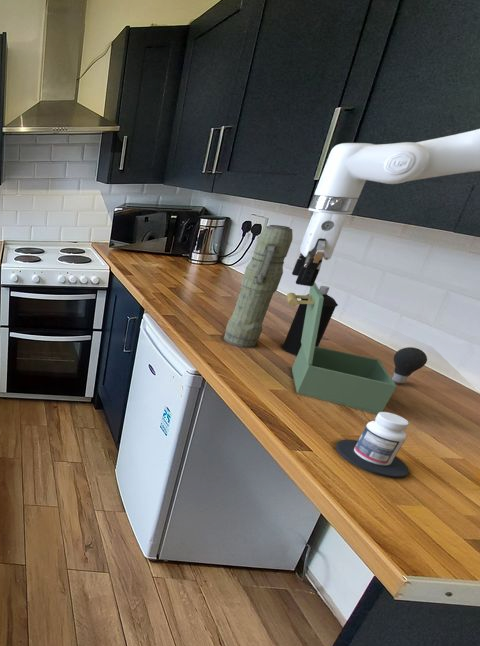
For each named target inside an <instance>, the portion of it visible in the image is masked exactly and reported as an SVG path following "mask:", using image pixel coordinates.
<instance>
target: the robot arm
mask: <svg viewBox="0 0 480 646" xmlns="http://www.w3.org/2000/svg"><path fill="white" fill-rule="evenodd" d="M473 172H480V128H476V129H473V130H470V131H469V130H468V131H464V132H460V133H456V134H451V135H446V136H442V137H437V138H432V139H426V140H421V141H417V142H412V141H406V142H405V141H403V142H395V143H383V144H382V143H381V144H375V143H368V142H367V143H366V142H342V143H339V144H336V145H334V146H333V147H332V148H331V150H330V152H329V154H328V157H327V159H326V162H325V165H324V168H323V169H322V172H321V175H320V178H319V181H318V183H317V186H316V189H315V191H314V194H313V196H312V199H311V202H310V204H309V206H308V211H311V212H313V213H312V215H311V218H310V220H309V223H308V226H307V228H306V231H305V233H304V235H303V238H302V241H301V244H300V248H299V251H300V254H299V256H298V258H297V260H296V262H295V265H294V267H293V270H292V272H291V274H292V276H296V277H297V278H296V280H295V284H296V285H299V286H306V287H310V286H313V285H314V282H315V283H316V280H317V277H318V275H319V273H320V270H321V267H322V263H323V259H324V260H325V261H328V260H330V259H331V258H332V256H333V254H334V251H335V248H336V245H337V243H338V240H339V238H340V235H341V232H342V229H343V226H344V224H345V220H346V217H347V215H352V214H353V212H354V209H355V207H356V204H357V203H358V200H359V198H360V196H361V194H362V191H363V188H364V186H365V184H366V182H367V181H370V182H375V183H381V184H386V185H387V184H388V185H397V184H402V183H406V182H413V181H418V180H424V179H431V178H437V177H443V176H451V175H456V174H463V173H464V174H465V173H473Z"/></svg>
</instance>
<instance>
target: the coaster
mask: <svg viewBox="0 0 480 646" xmlns="http://www.w3.org/2000/svg"><path fill="white" fill-rule="evenodd" d="M357 442H358V440H356V439H355V440H354V439H342V440H339V441H338V442H337V443H336V445H335V449H336V451H337V453H338V454H339V455H340V456H341V457H342V458H343V459H344V460H345V461H347V462H348V463H350V464H351V465H353V466H355V467H357V468H359V469H361V470H363V471H364V472H365V471H366V472H368V473H370V474H373V475H376V476H379V477H383V478H388V479H404V478H406V477H407V476H408V474H409V467H408V466H407V464H405V462H403V461H402V460H401V459H400V458H399V457H397V455H396V456H395V458H394V460H393V461H392V463H391V464H390V465H386V466H383V465H377V464H374V463H371V462H368V461H366V460H364V459H363V458H361V457H359V456H358V455H357V454H356V453H355V451H354V448H355V446H356V444H357Z"/></svg>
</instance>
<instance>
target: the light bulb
mask: <svg viewBox="0 0 480 646" xmlns="http://www.w3.org/2000/svg"><path fill="white" fill-rule="evenodd" d="M427 362H428V356H427V354H426V353H425V352H424V351H423V350H422V349H420V348H417V347H411V346H409V347H403V348H400V349H398V350H397V351H396V352H395V353H394V355H393V363H394V373H393V374H392V376H391V378H392V380H393V381H394V383H395V384H396V385H399V384H405V383H406V381H407V380H408V378H409V377H410V376H411V375H412V374H413V373H415V372H416V371H418V370H420V369H422V368H423V367H424V366H425V365H426V364H427Z"/></svg>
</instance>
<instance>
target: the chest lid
mask: <svg viewBox="0 0 480 646" xmlns="http://www.w3.org/2000/svg"><path fill="white" fill-rule="evenodd" d="M319 289H320V288H319V287H318V285H317V283H316V281H315V282H314V285H313V286H309V292H308V294H309V295H308V294H305V295H304V294H295V292H289V293H287V294H286V299H287V303H288V306H290V307H295V306H297V305H299V304H307V309H306V315H305V321H304V327H303V333H302V339H301V344H302V347H303V350H304V354H305V357H306V360H307V364H312V361H313V356H314V350H315V344H316V339H317V333H318V328H319V322H320V317H321V311H322V306H323V300H324V297H323V296H322V294H321V292H320V290H319ZM301 299H308V301H304V300H301Z"/></svg>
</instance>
